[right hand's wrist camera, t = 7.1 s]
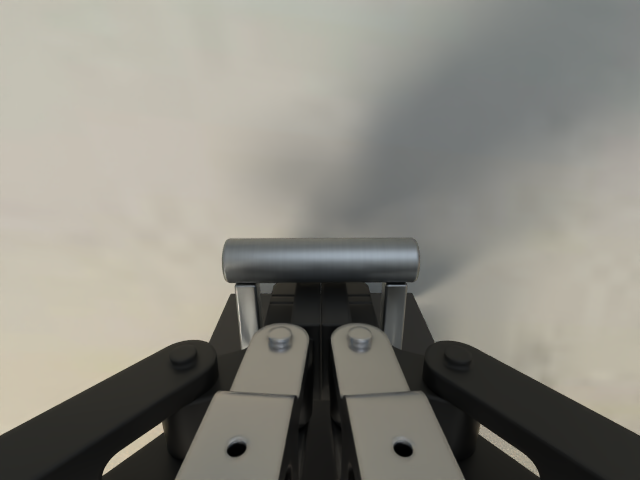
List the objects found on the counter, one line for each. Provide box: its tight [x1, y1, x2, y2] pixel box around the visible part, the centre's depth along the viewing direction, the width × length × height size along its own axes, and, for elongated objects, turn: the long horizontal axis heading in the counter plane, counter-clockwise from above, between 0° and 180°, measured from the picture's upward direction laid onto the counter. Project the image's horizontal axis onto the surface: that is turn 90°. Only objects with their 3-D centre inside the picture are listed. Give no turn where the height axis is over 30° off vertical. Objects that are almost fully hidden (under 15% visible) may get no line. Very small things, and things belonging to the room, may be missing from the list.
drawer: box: [209, 238, 435, 480], centre depth 16 cm, size 22×9×10 cm, turn 0°
